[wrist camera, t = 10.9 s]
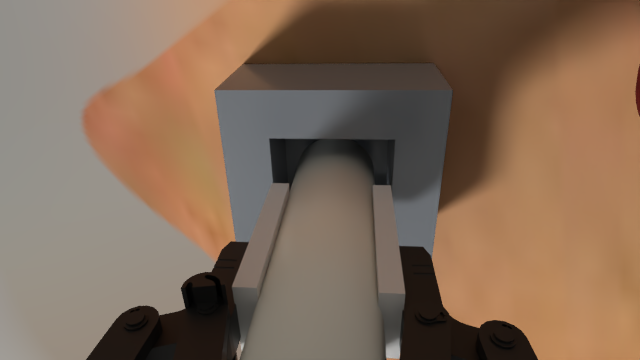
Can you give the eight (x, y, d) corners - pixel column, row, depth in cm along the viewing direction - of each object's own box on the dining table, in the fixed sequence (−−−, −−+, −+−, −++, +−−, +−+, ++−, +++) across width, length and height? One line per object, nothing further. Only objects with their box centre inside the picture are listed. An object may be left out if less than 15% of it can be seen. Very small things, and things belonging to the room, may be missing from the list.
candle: (295, 136, 21) (194, 419, 8) (375, 136, 21) (400, 433, 8) (299, 204, 23) (221, 522, 10) (372, 205, 23) (389, 537, 10)
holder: (242, 64, 22) (214, 90, 18) (433, 63, 22) (453, 90, 17) (259, 221, 27) (240, 272, 23) (417, 225, 26) (429, 279, 22)
